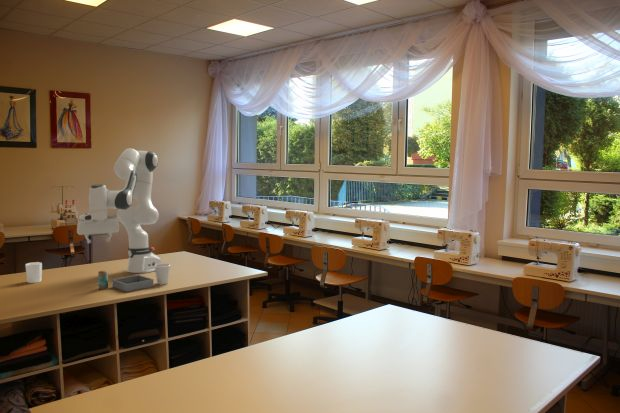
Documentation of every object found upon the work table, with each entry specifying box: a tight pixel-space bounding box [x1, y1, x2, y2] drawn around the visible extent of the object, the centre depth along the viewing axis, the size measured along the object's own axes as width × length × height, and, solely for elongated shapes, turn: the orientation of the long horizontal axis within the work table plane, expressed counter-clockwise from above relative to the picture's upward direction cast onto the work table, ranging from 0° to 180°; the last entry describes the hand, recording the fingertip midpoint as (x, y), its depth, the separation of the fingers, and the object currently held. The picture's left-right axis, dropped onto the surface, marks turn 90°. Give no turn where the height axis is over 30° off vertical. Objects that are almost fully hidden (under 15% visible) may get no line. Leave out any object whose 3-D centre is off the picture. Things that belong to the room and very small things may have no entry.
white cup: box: [24, 261, 43, 284], centre depth 272 cm, size 8×8×10 cm
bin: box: [111, 274, 154, 293], centre depth 261 cm, size 15×15×4 cm
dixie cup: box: [154, 263, 171, 285], centre depth 269 cm, size 8×8×10 cm
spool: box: [97, 270, 109, 291], centre depth 257 cm, size 4×4×9 cm
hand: (98, 242), depth 258 cm, fingers open, 8 cm apart
